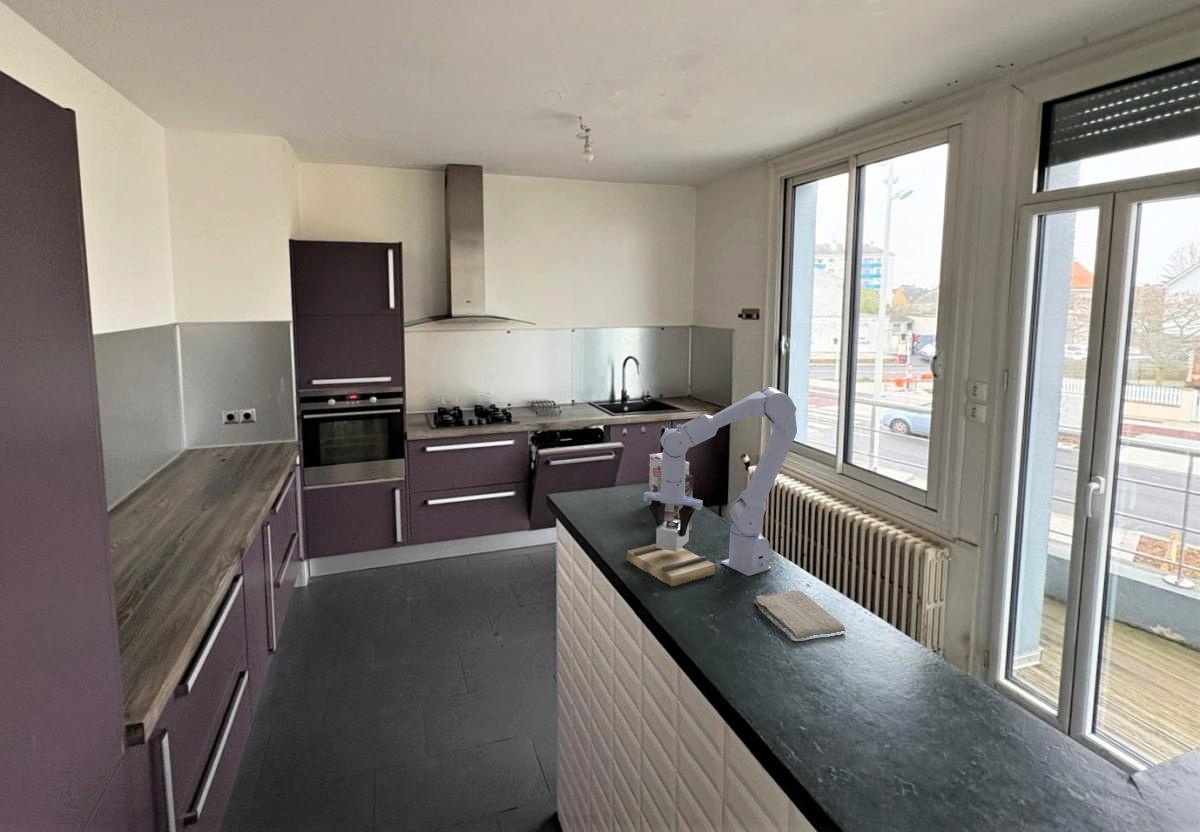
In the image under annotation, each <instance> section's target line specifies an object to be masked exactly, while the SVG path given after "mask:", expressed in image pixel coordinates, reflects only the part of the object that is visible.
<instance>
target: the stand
mask: <svg viewBox="0 0 1200 832" xmlns="http://www.w3.org/2000/svg"><path fill="white" fill-rule="evenodd" d="M626 561H627V562H628V561H629V562H628V563H631V564H632V563H633V564H632V565H634V566H635V565H636V567H637V568H638V569H641V570H642V571H644V572H645V573H647V572H648V573H647V574H649V573H650V574H649V575H651V576H653V577H654V576H655V578H656V577H657V579H658V580H659V581H660V582H661V581H662V582H663V583H665V584H666V583H667V585H668V584H669V586H670V587H672V586H673V587H676V586H679V585H682V583H683V584H686V583H689V581H690V582H693V581H696V580H700V579H703V578H706V576H707V577H710V576H713V575H716V573H715V572H716V564H715V563H713V562H712V561H709V559H707V556H705V555H703V556H699V555H698V554H695V553H693V552H692V551H689V550H687V549H685V548H683V547H681V548H680V549H679V550H678V551H677V552H675V551H670V550H665V549H660V548H656V543H652V544H650V545H646V546H641V547H638V548H633V549H629V550H626ZM692 580H693V581H692Z"/></svg>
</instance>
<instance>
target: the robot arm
mask: <svg viewBox="0 0 1200 832" xmlns="http://www.w3.org/2000/svg"><path fill="white" fill-rule="evenodd" d="M796 411H797V407H796V405H795V403H794V402H793V399H792V398H791V397H790V396H789V395H788V394H787V393H783V392H782V391H780V390H779V389H777V388H775V387H765V388H763V389H761V390H760V391H755V392H753V393H751V394H750V395H748V396H746V397H745V398H744V397H743V398H742V399H740V400H738V401H737V402H735V403H733V404H731V405H729V406H727V407H726V408H724V409H722V410H720V411H718V412H717V413H715V414H713V415H709V414H706V413H704V414H699V413H697V414H695V415H694V418H693V419H691V420H689V421H687V422H684V423H683V424H680V423H679V424H677V425H676V428H669V429H666V430H665V431H664V432H663V434H661V435H662V436H661V437H660V439H659V440H660V441H659V442H660V445H661V447H662V448H663V449H662V452H661V453H662V458H663V459H662V468H661V493H659V492H649V491H645V492H644V493H643V502H649V501H651V504H650V505H649V504H648V505H649V506H648V508H649V510H650V511H651V513H652V516H653V518H654V521H655V524H656V525H657V527H659V526H660V525H661V524H663V523H664V513H665V506H666V504H670V505H676V506H682V507H683V508H681V509H680V510H679V515H680V536H681V537H683V536H684V535H686V530H687V527H688V524H689V521H690V519H691V517H692V516H693V515H694V513H695V510H696V511H701V510H702V509H703V504H704V503H703V500H702V499H697V498H694V497H692V498H691V497H688V496H685V469H686V462H687V461H686V453H687V452H688V450H689V448H692V447H694V446H697V445H699V444H701V443H703V442H706V441H707V440H709V439H711V438H713V437H715V436H716V434H717V432H718V430H719V428H720V429H721V428H722V427H724V426H727V425H729V424H731V423H734V422H736V421H738V420H741V419H743V418H745V417H748V416H756V417H761V418H764V417H766V418H767V420H768V422H769V424H770V427H771V430H772V432H771V434H770V436H769V438H768V441H767V443H766V446H765V447H764V449H763V452H762V454H761V456H760V458H759V460H758V463H757V465H756V467H755V468H754V472H753V473H752V475H751V478H750V479H749V482H748V485H747V486H746V489H744V490H743V491H741V492H740V494H739V496H738V498H737V499H736V500H735V501H733V502H732V503H731V505H730V506H729V510H728V511H729V517H730V518H731V520H732V521H733V522H732V524H731V526H730V528H729V529H730V530H729V552H728V553H729V554H728V558H727V559H723V560H721V561H720V563H721V564H722V565H724V566H727V567H728V568H731V569H732V570H735V571H737V572H739V573H741V574H743V575H744V576H748V577H749V576H752V575H756V574H759V573H763V572H766V571H769V570H772V567H771V566H770V555H771V554H770V552H771V551H770V550H771V545H770V542H769V540H768V539H767V538H766V537H764V536H763V534H762V532H761V531H762V529H763V526H764V515H765V513H766V510H767V505H766V503H767V498H768V496H769V494H770V492H771V490H772V487H773V486H774V483H775V481H776V479H777V477H778V475H779V472H780V470H781V469H782V466H783V463H784V461H785V459H786V458H787V455H788V453H789V451H790V449H791V447H792V445H793V442H794V440H795V438H796V435H797V434H798V428H797V426H798V425H797V419H796V418H797V417H796ZM656 525H655V526H656Z"/></svg>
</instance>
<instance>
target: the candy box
mask: <svg viewBox="0 0 1200 832" xmlns="http://www.w3.org/2000/svg"><path fill="white" fill-rule="evenodd" d="M662 453H663V452H657V453H651V454H650V453H649V454H648V455H649V457H648V458H649V467H648V473H649V474H648V492H658V478H661V468H662V459H663V458H662ZM690 464H691V463H690V462H689V461H686V469H685V474H688V475H690ZM650 504H651V501H648V505H650Z"/></svg>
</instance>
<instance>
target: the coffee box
mask: <svg viewBox="0 0 1200 832" xmlns="http://www.w3.org/2000/svg"><path fill="white" fill-rule="evenodd" d="M693 487H694V475H692V474H689V475H688V474H685V496H688V497H691V498H693ZM658 492H659V493H661V478H658ZM681 508H683V507H682V506H676V505H670V504H666V506H665V513H664V522H665V521H667V520H668V519H669V518H671V519H677V520H680V515H679V510H680V509H681ZM692 519H693V518H692V517H691V519H690V521H689V532H691V531H692V521H693V520H692ZM655 526H656V527H655V530H656V531H655V532H657V525H655ZM690 530H691V531H690Z"/></svg>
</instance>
